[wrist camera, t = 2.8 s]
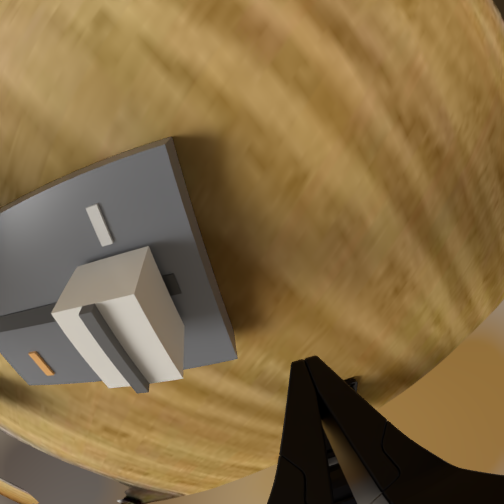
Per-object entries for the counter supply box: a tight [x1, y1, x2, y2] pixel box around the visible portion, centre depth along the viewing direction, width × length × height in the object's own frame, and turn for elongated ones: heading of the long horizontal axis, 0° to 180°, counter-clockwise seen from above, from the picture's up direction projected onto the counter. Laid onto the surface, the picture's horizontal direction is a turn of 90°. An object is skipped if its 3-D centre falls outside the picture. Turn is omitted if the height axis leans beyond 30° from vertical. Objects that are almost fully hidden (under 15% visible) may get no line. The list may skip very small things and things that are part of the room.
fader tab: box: [51, 246, 185, 393], centre depth 12 cm, size 4×5×4 cm
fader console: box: [0, 137, 238, 385], centre depth 15 cm, size 18×13×3 cm
